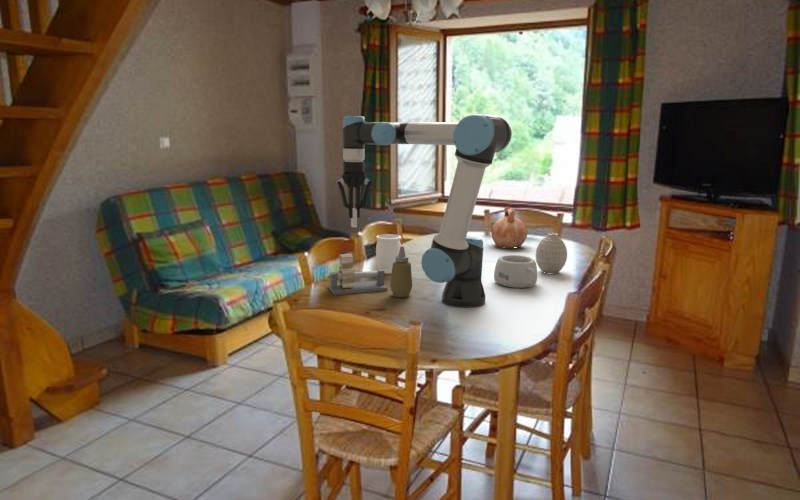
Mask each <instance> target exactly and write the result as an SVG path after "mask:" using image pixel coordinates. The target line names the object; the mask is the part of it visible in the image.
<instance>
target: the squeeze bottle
mask: <svg viewBox="0 0 800 500" xmlns="http://www.w3.org/2000/svg"><path fill="white" fill-rule="evenodd" d="M412 275H413V274H412V265H411V262H410V261H409V256H408V255H406V250H405V246H404V245H401V247H400V251H399V255H398V256H395V262H394V263H393V266H392V274H391V275H390V285H389V287H390V289H391V292H392V293H391V294H392V296H393V297H396V298H406V297H407V298H408V297H409V296H410V294H411V291H412V288H413V278H412V277H413V276H412Z"/></svg>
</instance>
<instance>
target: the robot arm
mask: <svg viewBox="0 0 800 500" xmlns="http://www.w3.org/2000/svg"><path fill="white" fill-rule="evenodd" d="M342 121H343V122H342V139H343V140H342V141H343V143H342V144H343V147H342V150H343V152H342V154H343V155H342V158H343V163H342V164H343V165H342V166H343V168H342V172H343V173H342V175H341V178H340V179H338V180H336V181H335V184H336V185H337V187H338V191H339V193H340V199H341V201H342V205H343V207H344V208H345V209H346V208H347V209H348V210H347V211H348V212H347V213H348V214H347V215H348V218H350V227H351V228H353V229H355V228H358V218H360V210H361V209H362V208H365V206H366V202H367V198H368V193H369V190H370V187H371V185H372V184H373V181H372V180H369V178H367V177H366V174H365V172H366V171H365V167H366V166H365V164H366V163H365V162H364V161H365V159H366V157H365V156H366V154H365V146H366V145H373V146H374V145H376V146H388V145H426V146H427V145H429V146H430V145H432V146H434V145H435V146H437V145H438V146H455V148H456V149H455V152H454V156H455V158H456V160H457V164H456V169H455V171H454V177H453V178H452V179H453V180H452V182H451V183H452V184H451V187H450V190H449V191H450V192H449V195H448V199H447V203H446V207H445V211H444V214H443V218H442V222H441V226H440V229H439V232H438V233H436V234H434V236H433V238H432V241H431V245H430V248H428V249H427V250H425V251H424V253H423V254H422V257H421V268H422V271H423V272H424V274H425V276H426V277H427V278H428V279H429V280H430V281H432V282H434V283H437V284H444V283H445V285H444V288H443V290H442V292H441V293H442V294H441V301H442V302H443V303H445V304H447V305H449V306H453V307H457V308H476V307H480V306H483V305H485V303H486V293H485V289H484V286H483V283H482V273H483V272H482V271H483V261H484V260H483V259H484V240H483V239H481V238H480V237H476V236H470V235H469V236H467V235H468V232H469V228H470V226H471V225H470V224H471V222H472V218H473V214H474V210H475V206H476V203H477V199H478V196H479V194H480V193H479V192H480V189H481V186H482V182H483V178H484V175H485V171H486V169H487V168H488V167H489V166H491V165H492V164H493V161H494V158H495V154H497V153H499V152H501V151H503V150H505V149H506V148H507V147H508V145H509V144H510V142H511V140H512V135H513V134H512V133H513V131H512V126H511V125H510V123H509V121H508V120H507V119H505V118H504V117H502V116H500V115H496V114H487V113H486V114H485V113H484V114H483V113H474V114H469V115H466V116H464V117H463V118H461V119H460V120H459V121H454V122H453V121H452V122H451V121H445V122H442V121H441V122H439V121H438V122H437V121H436V122H435V121H432V122H431V121H428V122H427V121H425V122H421V121H420V122H405V121H403V122H401V121H400V122H388V121H387V122H386V121H366V120H365V116H362V115H346V116H344V117H343V120H342ZM344 184H345V185H346V186H347V196H346V192H345V187H344ZM363 184H364V186H363V190H362V195H361V186H362V185H363Z"/></svg>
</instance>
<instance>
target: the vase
mask: <svg viewBox="0 0 800 500" xmlns="http://www.w3.org/2000/svg"><path fill="white" fill-rule="evenodd" d="M567 249H568V248H567V246H566V244H565V242H564V241H563V239H562V238H561V237H560V236H559V234H558V233H556V232H548V233H547V235H546V236H544V237H543V238H542V239H541V240H540V241H539V243H538V245H537V246H536V250H535V262H536V266H537V267H538V268H539V270H540V271H541V272H542V271H543V272H545V273H544V274H546V273H557V274H558V273H559V272H561V271H562V269H563V268H564V267H565V265H566V263H567V260H568V250H567ZM543 272H542V273H543Z"/></svg>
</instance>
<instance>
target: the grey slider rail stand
mask: <svg viewBox="0 0 800 500" xmlns="http://www.w3.org/2000/svg"><path fill="white" fill-rule="evenodd" d="M368 278H369V279H370V278H372V279H373V278H376V280H367V281H366V280H364V281H354V287H350V288H343V287H342V286H341V285H340V284H339V282H338V281H339V280H342V273H339V272H335V271H334V272H333V271H332V272H330V271H329V283H328V284H327V287H328V290H329V291H330V292H331V293H332V294H333V295H334V296H337V295H349V294H350V295H351V294H363V293H373V292H375V293H376V292H386V291H388V287H387V286H386V285H385V273H384V270H383V269H379V268H377V269H376V270H369V271H368V270H367V271H354V280H355V279H368Z"/></svg>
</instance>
